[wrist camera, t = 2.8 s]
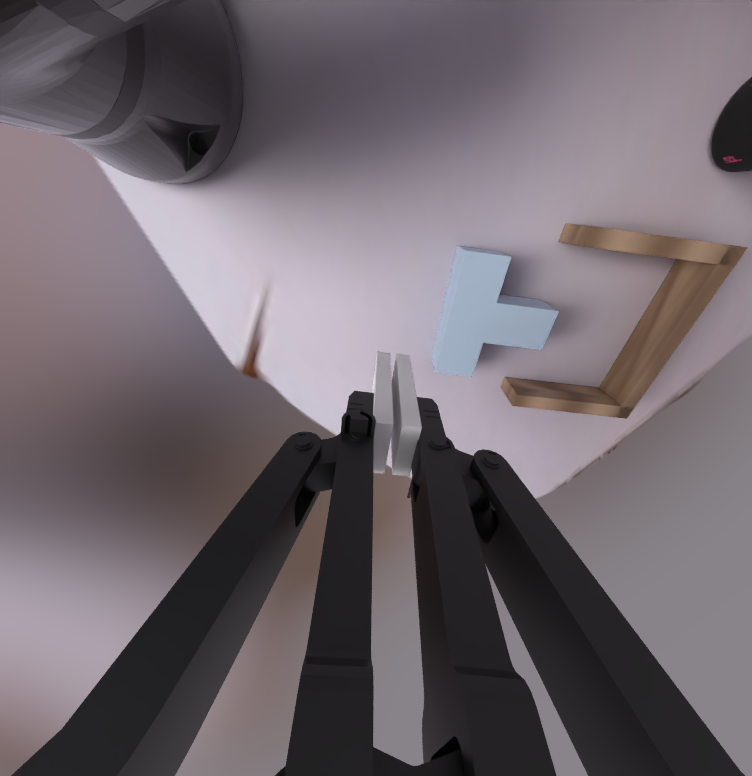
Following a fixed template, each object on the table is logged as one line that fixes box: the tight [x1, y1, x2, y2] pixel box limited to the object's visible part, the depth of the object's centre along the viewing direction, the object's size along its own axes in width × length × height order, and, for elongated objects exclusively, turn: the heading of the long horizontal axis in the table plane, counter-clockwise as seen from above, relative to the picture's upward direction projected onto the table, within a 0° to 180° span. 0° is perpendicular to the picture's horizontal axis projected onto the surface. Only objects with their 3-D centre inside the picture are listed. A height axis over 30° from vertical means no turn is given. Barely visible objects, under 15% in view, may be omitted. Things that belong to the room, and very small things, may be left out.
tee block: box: [431, 246, 559, 377], centre depth 30 cm, size 10×12×4 cm
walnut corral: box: [501, 224, 747, 418], centre depth 31 cm, size 14×18×4 cm
